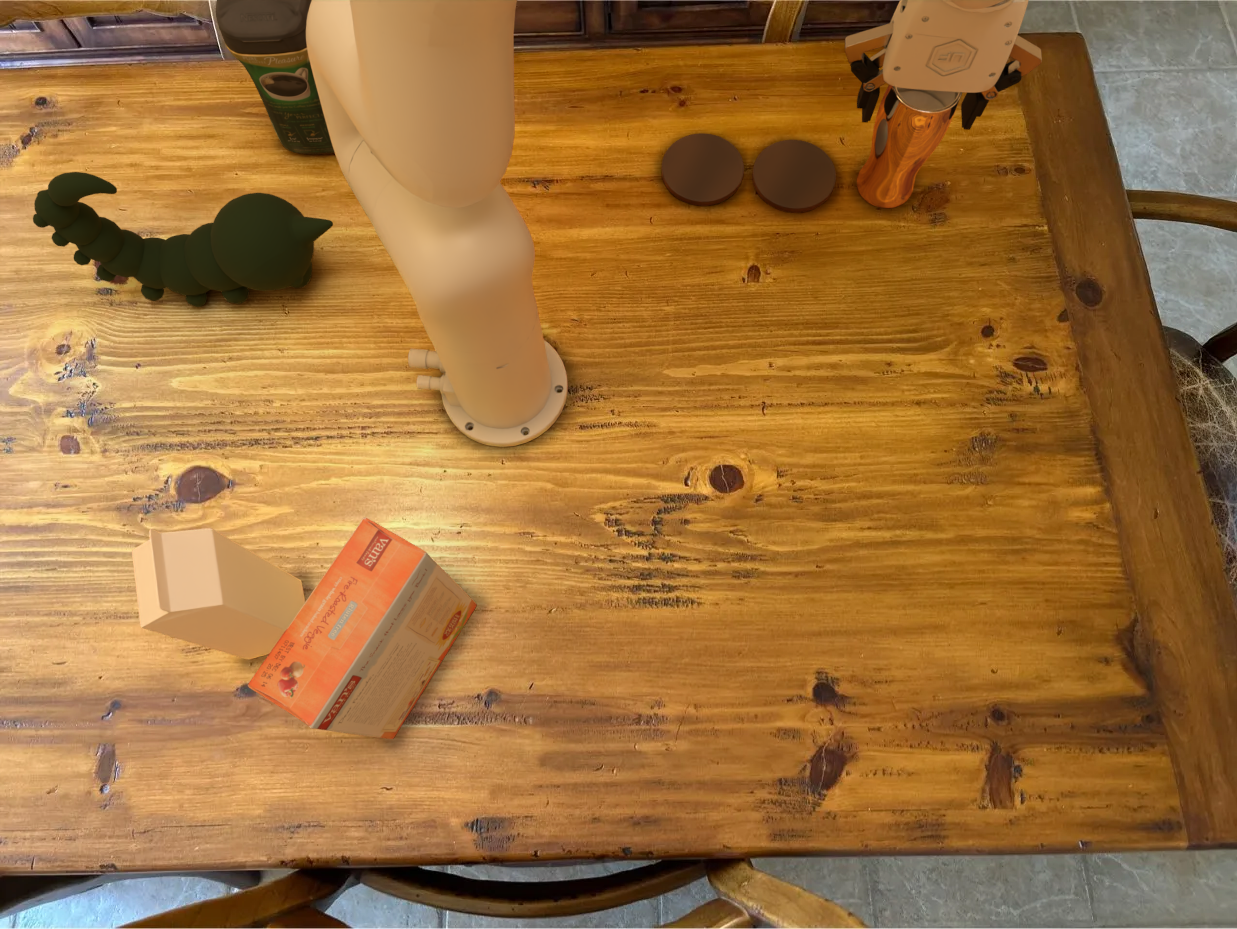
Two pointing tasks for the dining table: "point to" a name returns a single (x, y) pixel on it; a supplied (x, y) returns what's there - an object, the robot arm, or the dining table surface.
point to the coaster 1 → (702, 169)
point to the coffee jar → (278, 67)
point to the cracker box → (366, 637)
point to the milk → (213, 592)
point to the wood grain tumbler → (904, 142)
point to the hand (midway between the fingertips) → (915, 114)
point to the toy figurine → (187, 244)
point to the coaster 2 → (794, 176)
